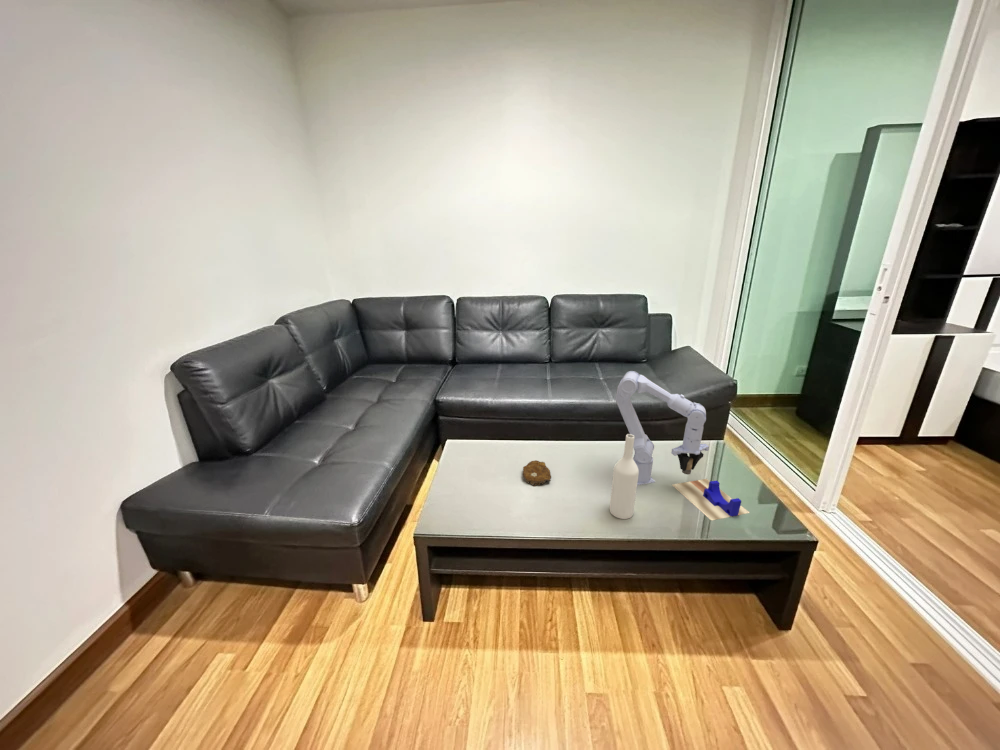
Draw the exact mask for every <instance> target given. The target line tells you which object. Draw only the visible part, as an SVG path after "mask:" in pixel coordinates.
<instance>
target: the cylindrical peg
mask: <svg viewBox="0 0 1000 750" xmlns="http://www.w3.org/2000/svg"><path fill="white" fill-rule="evenodd" d="M692 463H693V458H692V457H690V460H689V461H688V464H687V468H686V470H685V471H683V470H682V469H681V472H682V473H683V474H684V475H689V476H690V475H691V473H692Z"/></svg>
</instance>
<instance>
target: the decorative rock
mask: <svg viewBox="0 0 1000 750" xmlns="http://www.w3.org/2000/svg"><path fill="white" fill-rule="evenodd" d="M522 471H523V473H522V477H523V478H524V479H525V482H526V483H528V484H530V485H532V487H536V486H537V485H538V486H540V485H545V483H546V482H547V481H548V482H551V479H552V475H551V470H550V468H549V467H547V465H546V463H545V461H539V460H531V461H529V462H528V463H527V464H526V465H525V466H523V467H522Z"/></svg>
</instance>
